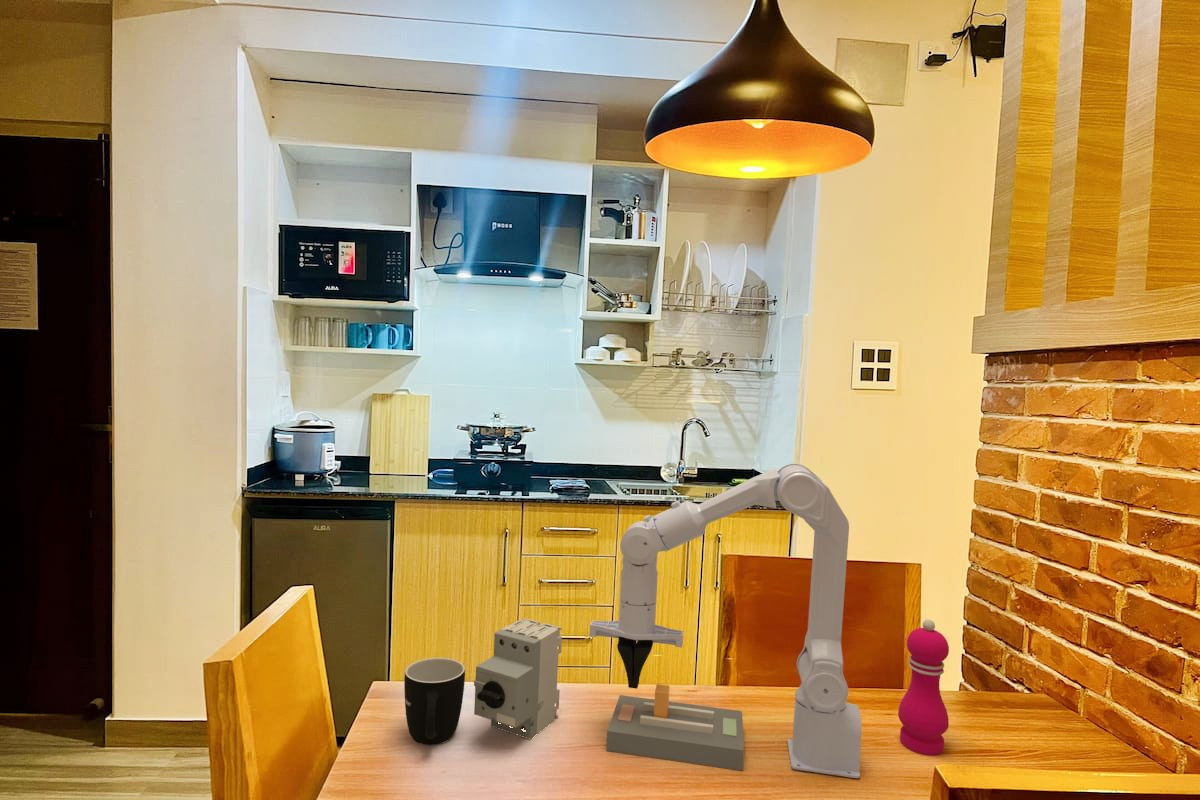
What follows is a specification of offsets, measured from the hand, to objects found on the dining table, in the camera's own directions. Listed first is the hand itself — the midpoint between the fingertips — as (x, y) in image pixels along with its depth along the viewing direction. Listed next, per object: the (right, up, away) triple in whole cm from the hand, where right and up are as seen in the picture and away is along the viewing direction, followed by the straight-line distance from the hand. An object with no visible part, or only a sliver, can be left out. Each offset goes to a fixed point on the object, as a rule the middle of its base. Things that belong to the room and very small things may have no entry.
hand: (633, 685), depth 107 cm
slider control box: (+7, -8, -1) cm, 10 cm away
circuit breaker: (-19, -7, 0) cm, 20 cm away
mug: (-31, -7, -4) cm, 32 cm away
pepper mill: (+46, -10, +1) cm, 47 cm away
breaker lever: (+4, -5, -1) cm, 6 cm away
